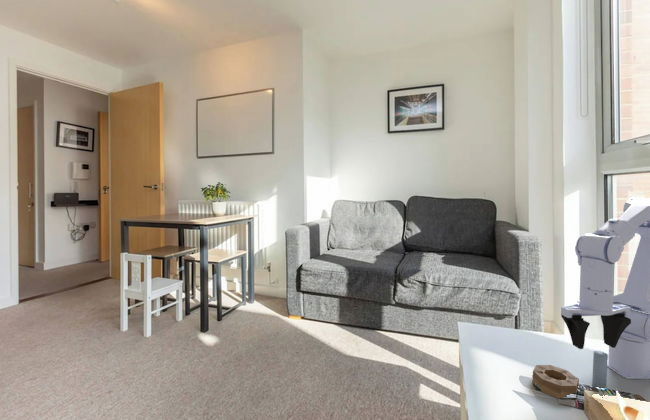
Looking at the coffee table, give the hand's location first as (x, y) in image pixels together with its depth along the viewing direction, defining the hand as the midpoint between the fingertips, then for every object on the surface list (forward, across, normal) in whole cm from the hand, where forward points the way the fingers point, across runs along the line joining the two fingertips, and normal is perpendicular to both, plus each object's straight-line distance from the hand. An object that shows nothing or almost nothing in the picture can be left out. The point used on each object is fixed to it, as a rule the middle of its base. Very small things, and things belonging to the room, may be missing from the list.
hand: (593, 346), depth 72 cm
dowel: (+9, -1, +1) cm, 9 cm away
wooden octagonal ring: (+9, +9, 0) cm, 13 cm away
